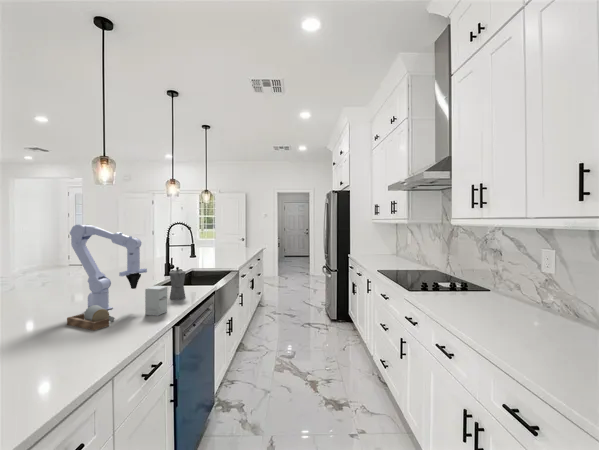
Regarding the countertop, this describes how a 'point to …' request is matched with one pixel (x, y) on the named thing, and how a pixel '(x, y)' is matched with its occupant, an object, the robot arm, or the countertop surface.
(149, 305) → the supplement box
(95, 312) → the ceramic mug
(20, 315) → the countertop surface
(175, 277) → the coffeepot
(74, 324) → the rail
